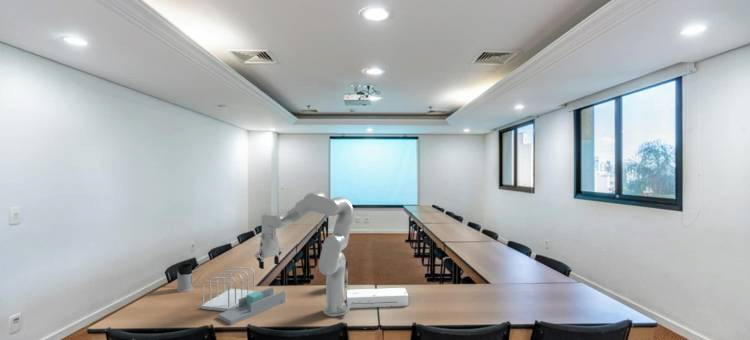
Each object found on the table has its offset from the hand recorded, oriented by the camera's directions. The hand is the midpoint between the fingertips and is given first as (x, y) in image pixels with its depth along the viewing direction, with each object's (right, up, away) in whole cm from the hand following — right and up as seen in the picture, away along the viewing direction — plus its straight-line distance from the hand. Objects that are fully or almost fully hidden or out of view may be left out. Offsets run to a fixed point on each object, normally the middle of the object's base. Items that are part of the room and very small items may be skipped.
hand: (269, 266), depth 183 cm
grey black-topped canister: (-56, -20, +21) cm, 63 cm away
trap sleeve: (-6, -21, -8) cm, 23 cm away
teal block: (-5, -19, -7) cm, 21 cm away
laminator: (+60, -21, 0) cm, 64 cm away
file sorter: (-23, -21, +3) cm, 32 cm away
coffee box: (+37, -20, +21) cm, 47 cm away
